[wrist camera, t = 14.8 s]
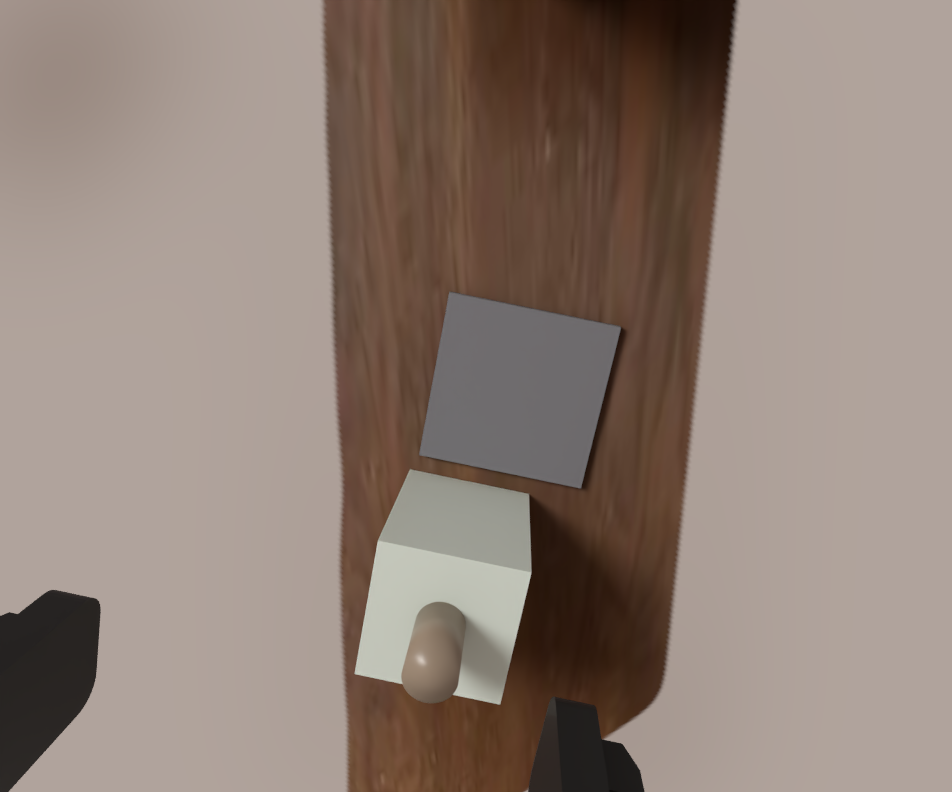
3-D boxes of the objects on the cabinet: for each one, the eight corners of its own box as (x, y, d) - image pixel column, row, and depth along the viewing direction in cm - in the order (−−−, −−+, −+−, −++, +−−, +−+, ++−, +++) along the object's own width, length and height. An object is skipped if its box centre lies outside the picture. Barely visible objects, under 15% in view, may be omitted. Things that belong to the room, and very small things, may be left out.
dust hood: (410, 469, 52) (358, 584, 35) (528, 494, 51) (533, 620, 35) (390, 576, 54) (333, 732, 37) (504, 600, 54) (497, 767, 37)
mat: (450, 291, 48) (449, 292, 48) (619, 326, 48) (621, 327, 48) (420, 452, 51) (419, 454, 51) (580, 485, 51) (580, 488, 50)
